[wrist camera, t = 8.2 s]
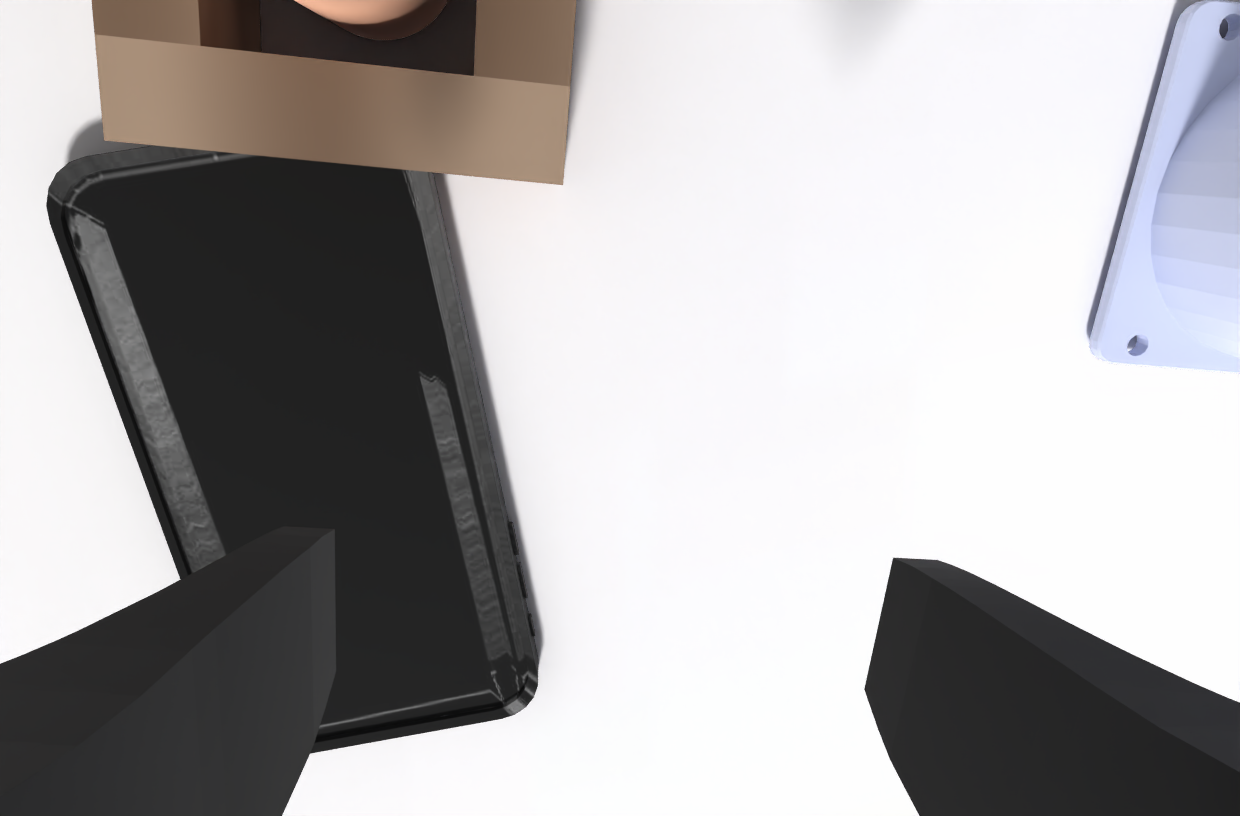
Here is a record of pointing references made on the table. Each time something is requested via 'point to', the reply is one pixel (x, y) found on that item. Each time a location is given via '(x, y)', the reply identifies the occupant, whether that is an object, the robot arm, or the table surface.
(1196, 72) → the robot arm
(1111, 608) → the table surface
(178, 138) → the socket block
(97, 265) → the phone
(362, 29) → the peg
